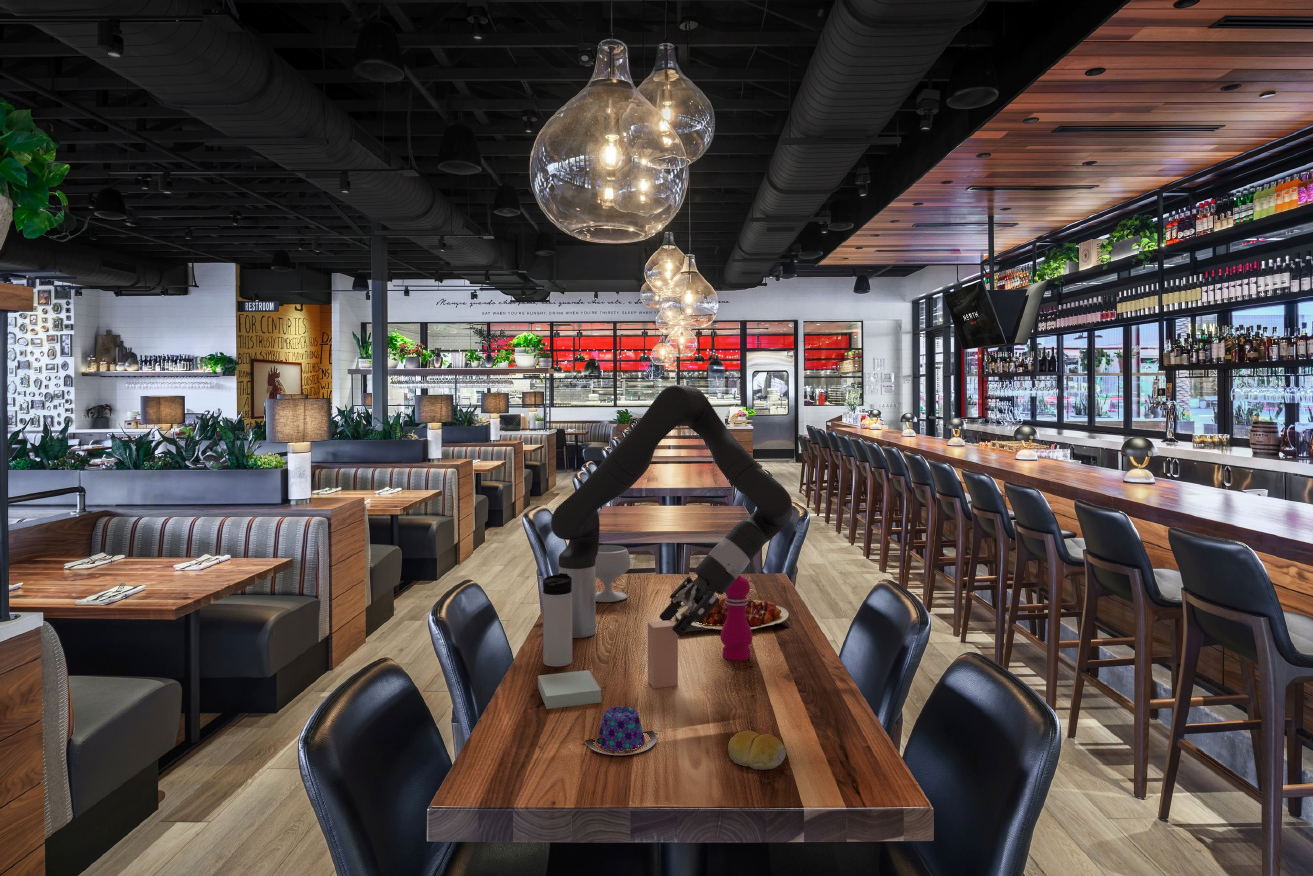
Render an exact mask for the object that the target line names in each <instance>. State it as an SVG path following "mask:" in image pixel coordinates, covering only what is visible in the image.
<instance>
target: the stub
mask: <svg viewBox="0 0 1313 876" xmlns="http://www.w3.org/2000/svg"><path fill="white" fill-rule="evenodd" d="M676 623H677V622H675V621H673V620H672V619H671V620H666V621H662V620H658V621H657V620H655V621H648V622H647V682H648V684H649V685H650V686H651V687H652V688H653V689H662V688H668V687H670V688H671V687H676V686H679V635H677V634H676V633H675V632H674V631H673V629H672V628H673V626H674V625H675V624H676Z"/></svg>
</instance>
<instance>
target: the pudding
mask: <svg viewBox="0 0 1313 876" xmlns="http://www.w3.org/2000/svg"><path fill="white" fill-rule="evenodd" d="M603 713H604V714H603V716H602V719H601V722H600V726H599V731H598V736H600V737H597V738H598V739H597V741H596V744H597V743H598V744H601V745H600V748H601V747H602V748H604V749H612V750H613V751H616V752H615V753H618V752H619V751H623V750H626V749H630V750H631V749H635V748H638V749H639V747H641V746H640V745H643V744H644V743H646V739H645V737H644V735H643V733H647V734H648V735H649V737H650V739H651V740H649V743H648V745H647V747H646V748H644V749H643V750H641V751H638V752H634V753H630V754H612V753H607V752H602V751H599V750H597V749H596V748H594V747H595V745H593V744H594V743H593V742H595V740H593V739H594V738H591V739H588V738H587V739H585V744H586V745H587V747H588V748H590V749H591V750H593V751H595V752H597V753H601V754H604V755H609V756H610V755H611V756H612V755H613V756H628V755H635V754H639V753H642V752H645V751H647V750H649V749H650V748H652V747H653V746H654V745H655V744H656V743H657V735H656V733H655V732H654V731H653V730H648V731H643V728H642V723H641V720H640V715H639V713H638V711H637V710H636V709H635V708H631V707H629V706H621V705H619V706H615V707H610V708H608V709H606V711H605V712H603ZM598 744H597V745H598ZM638 745H639V747H638ZM644 745H645V744H644ZM644 745H643V746H644ZM602 748H601V749H602ZM604 749H603V750H604ZM612 750H611V751H612ZM613 751H612V752H613ZM617 751H618V752H617ZM619 753H620V752H619Z"/></svg>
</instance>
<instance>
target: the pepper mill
mask: <svg viewBox="0 0 1313 876" xmlns="http://www.w3.org/2000/svg"><path fill="white" fill-rule="evenodd" d="M750 589H751V586H750V582H749V581H748V579H747V578H746V577H744V576H742V575H739V576H738V578H737V579H736V580H735V581H734V582H733V583H732V584H731V586H730V587H729V588H728V589H727V590H726V591H725V592H724V594H726V596H725V597H724V598H725V599H726V604H727V605H728V615H727V619H726V621H725V624H724V625H722V628H721V630H720V631H721V632H720V641H721V643H722V645H724V646H723V647H722V657H723V658H724V659H726V660H729V661H736V662H737V661H745V660H748V659H750V658H751V648H750V647H749V646H750V645H751V644H752V642H753V631H752V629H750V628H751V627H750V626H749V624H748V622H747V619H746V615H745V607H746V604H747V603H748V602H747V599H749V598H748V596H747V595H748V594H749V593H750Z"/></svg>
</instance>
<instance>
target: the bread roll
mask: <svg viewBox="0 0 1313 876" xmlns="http://www.w3.org/2000/svg"><path fill="white" fill-rule="evenodd" d="M727 747H728V751H727V752H728V756H729V757H730V759H731V761H733V762H734V764H736V763H737V764H736V765H738V764H739V766H741V765H742V766H743V767H750V768H751V769H753V770H758V769H759V771H764V770H765V771H767V770H772V769H776V768H777V767H778V766H780V765H782V764H783V762H784V760H785V758H786V755H787V749H786V747H785V745H784V744H783V742H782V741H781V740H780V739H778V737H776V736H774V735H773V734H770V733H764V734H763V733H762V734H760V733H757V732H756V731H754V730H751V729H750V730H749V729H747V730H742V731H739V732H737V733H736V734H734V735H733V736H732V737H731V738H730V740H729V741H728V745H727ZM742 766H741V767H742Z"/></svg>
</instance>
